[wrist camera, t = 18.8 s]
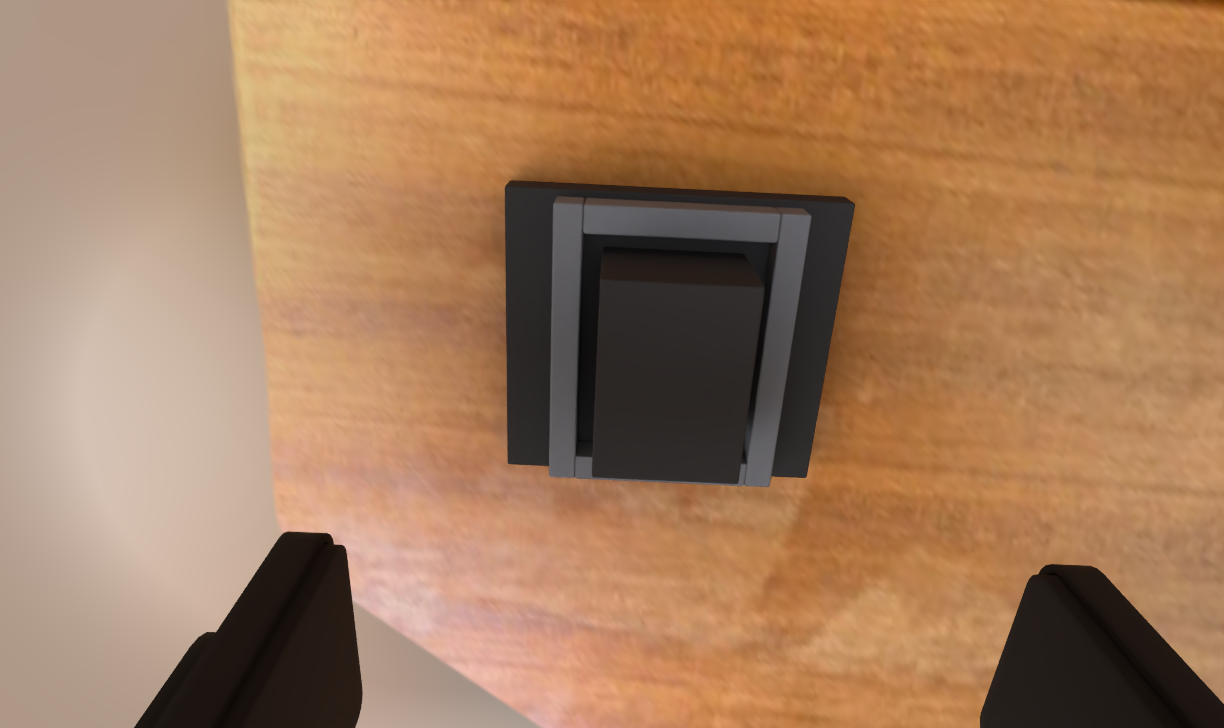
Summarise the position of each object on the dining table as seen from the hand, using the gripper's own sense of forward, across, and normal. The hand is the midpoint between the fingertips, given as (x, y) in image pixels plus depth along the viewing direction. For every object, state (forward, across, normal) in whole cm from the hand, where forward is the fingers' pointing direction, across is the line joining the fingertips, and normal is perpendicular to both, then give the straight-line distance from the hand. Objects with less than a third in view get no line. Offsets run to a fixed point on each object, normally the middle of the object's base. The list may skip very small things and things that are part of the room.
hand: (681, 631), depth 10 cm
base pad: (+18, -1, +3) cm, 19 cm away
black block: (+17, -1, +3) cm, 18 cm away
